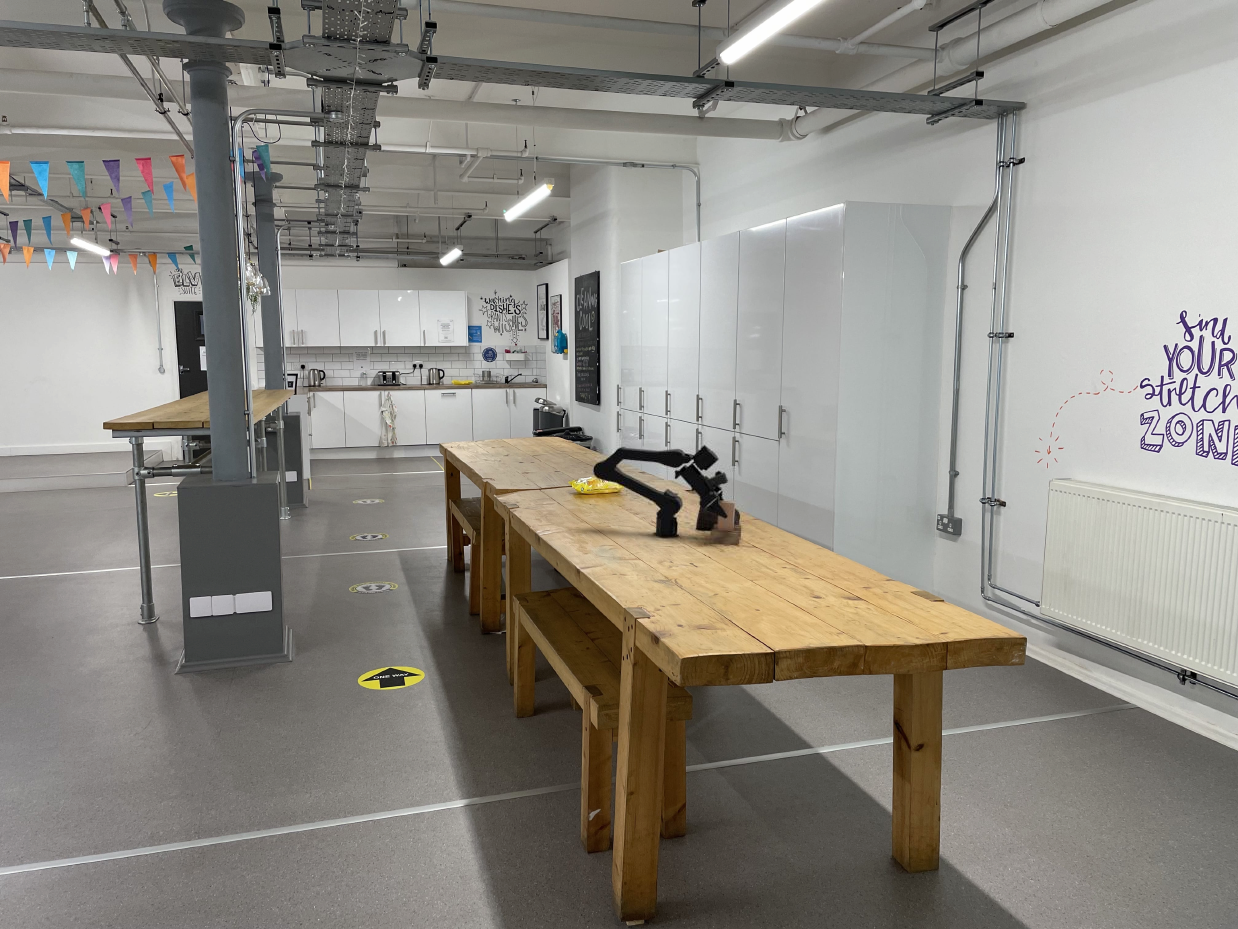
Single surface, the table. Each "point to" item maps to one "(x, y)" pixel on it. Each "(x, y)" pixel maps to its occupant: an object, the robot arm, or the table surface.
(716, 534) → the rack
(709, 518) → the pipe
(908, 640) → the table surface
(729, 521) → the clay block
